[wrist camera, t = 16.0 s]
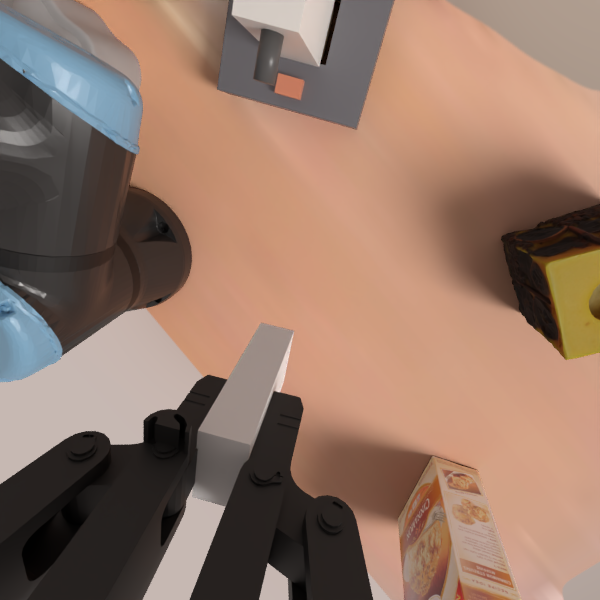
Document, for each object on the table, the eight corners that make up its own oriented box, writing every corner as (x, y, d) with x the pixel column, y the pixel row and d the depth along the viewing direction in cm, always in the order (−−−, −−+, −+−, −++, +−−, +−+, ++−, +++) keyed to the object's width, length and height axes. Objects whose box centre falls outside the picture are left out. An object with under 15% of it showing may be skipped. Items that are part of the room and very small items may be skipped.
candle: (499, 235, 39) (539, 262, 30) (608, 198, 36) (690, 216, 27) (518, 316, 42) (561, 363, 33) (620, 289, 39) (698, 332, 30)
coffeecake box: (431, 454, 51) (465, 615, 34) (480, 469, 51) (540, 640, 33) (395, 519, 58) (408, 683, 40) (438, 533, 57) (470, 705, 40)
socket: (227, 93, 38) (213, 88, 34) (253, -84, 32) (240, -112, 28) (356, 129, 37) (355, 127, 33) (407, -45, 31) (412, -69, 28)
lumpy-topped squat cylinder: (153, 74, 38) (98, 56, 30) (93, 164, 43) (32, 168, 35) (76, -11, 36) (-5, -54, 28) (22, 93, 41) (-59, 81, 33)
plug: (314, 106, 36) (287, 86, 24) (271, 94, 37) (224, 68, 24) (340, -3, 33) (324, -94, 20) (292, -16, 33) (249, -113, 20)
